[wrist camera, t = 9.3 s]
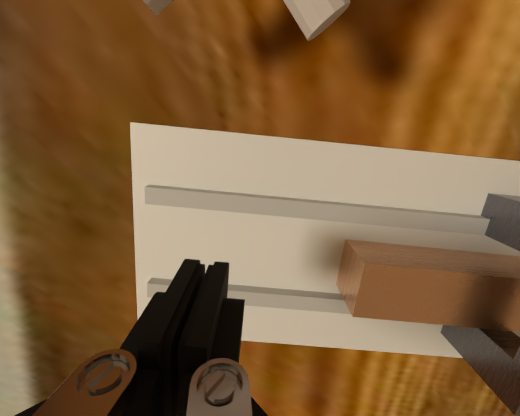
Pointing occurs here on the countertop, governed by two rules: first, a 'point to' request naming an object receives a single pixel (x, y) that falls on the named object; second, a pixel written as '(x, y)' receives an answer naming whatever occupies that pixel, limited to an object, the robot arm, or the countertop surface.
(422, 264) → the bar
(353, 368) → the countertop surface
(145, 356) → the robot arm
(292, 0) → the pipe connector
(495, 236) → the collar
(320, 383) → the countertop surface
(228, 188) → the white rail board
